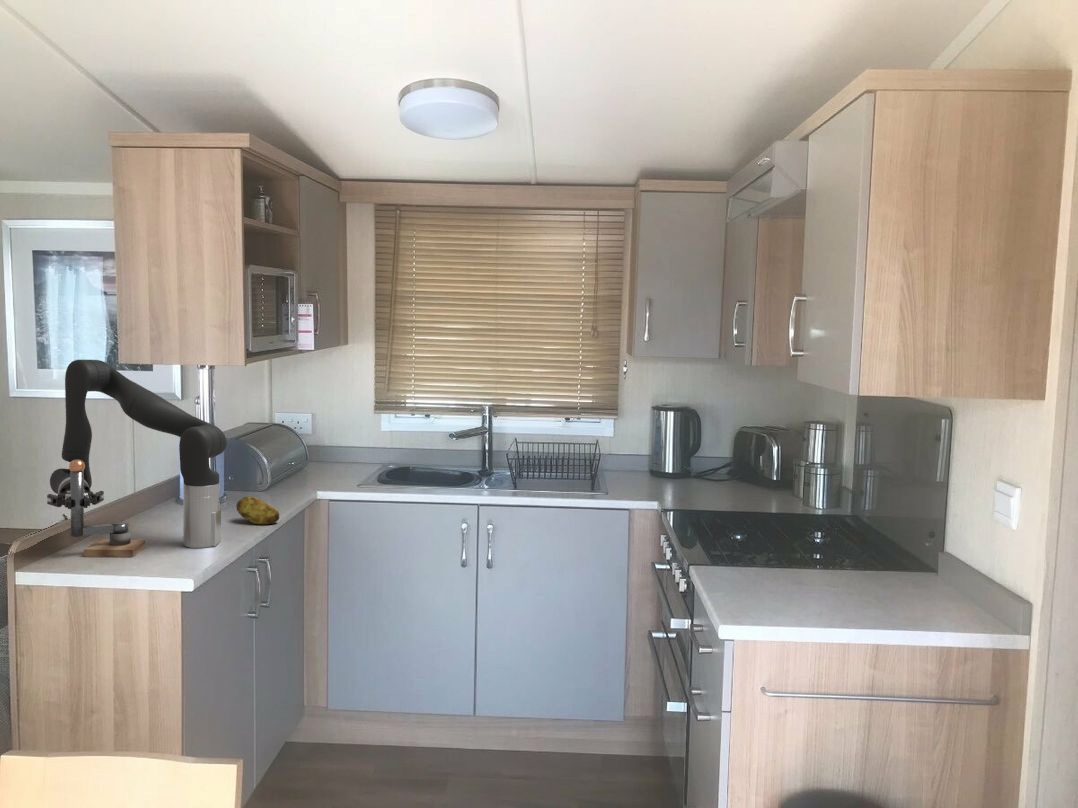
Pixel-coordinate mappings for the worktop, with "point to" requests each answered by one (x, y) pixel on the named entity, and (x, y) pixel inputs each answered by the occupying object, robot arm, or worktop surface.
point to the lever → (78, 506)
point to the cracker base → (115, 546)
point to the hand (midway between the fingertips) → (78, 504)
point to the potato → (257, 511)
